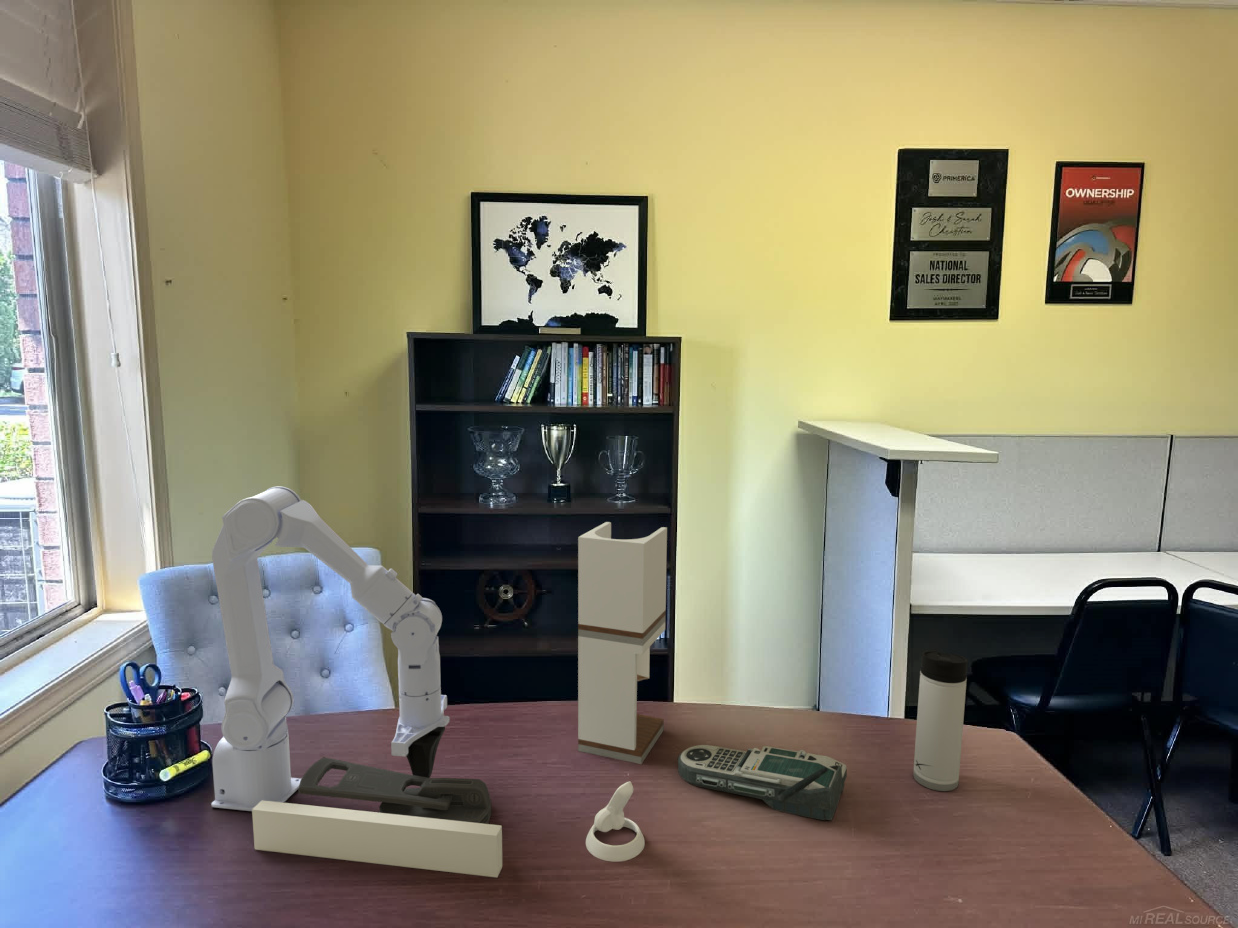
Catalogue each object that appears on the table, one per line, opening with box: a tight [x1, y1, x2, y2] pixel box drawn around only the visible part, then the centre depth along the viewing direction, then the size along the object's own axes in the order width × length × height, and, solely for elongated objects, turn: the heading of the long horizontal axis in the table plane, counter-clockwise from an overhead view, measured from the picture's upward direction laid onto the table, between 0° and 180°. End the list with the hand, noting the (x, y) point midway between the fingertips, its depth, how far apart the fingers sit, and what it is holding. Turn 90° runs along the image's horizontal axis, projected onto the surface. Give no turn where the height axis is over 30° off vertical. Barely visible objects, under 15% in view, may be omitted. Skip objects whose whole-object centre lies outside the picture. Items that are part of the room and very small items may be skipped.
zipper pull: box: [297, 756, 492, 824], centre depth 103 cm, size 9×7×25 cm
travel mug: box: [912, 650, 968, 792], centre depth 112 cm, size 6×7×20 cm
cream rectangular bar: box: [251, 800, 503, 878], centre depth 95 cm, size 32×4×6 cm, turn 81°
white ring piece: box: [585, 781, 646, 863], centre depth 96 cm, size 8×12×7 cm
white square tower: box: [577, 521, 668, 765], centre depth 122 cm, size 11×11×35 cm
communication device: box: [677, 744, 848, 821], centre depth 111 cm, size 12×24×9 cm, turn 63°
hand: (422, 777), depth 108 cm, fingers closed
